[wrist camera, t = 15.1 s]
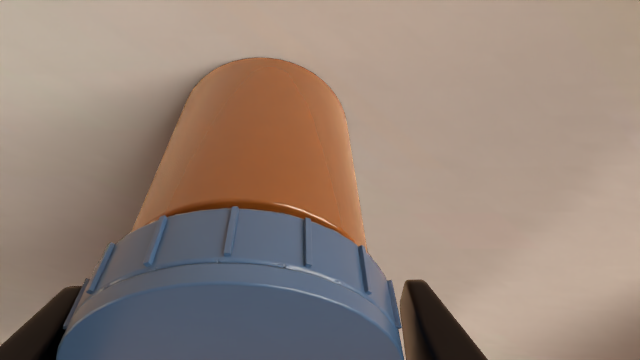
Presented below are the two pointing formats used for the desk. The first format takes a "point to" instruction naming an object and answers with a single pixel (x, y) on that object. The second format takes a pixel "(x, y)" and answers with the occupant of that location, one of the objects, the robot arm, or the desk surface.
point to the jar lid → (234, 294)
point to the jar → (260, 149)
